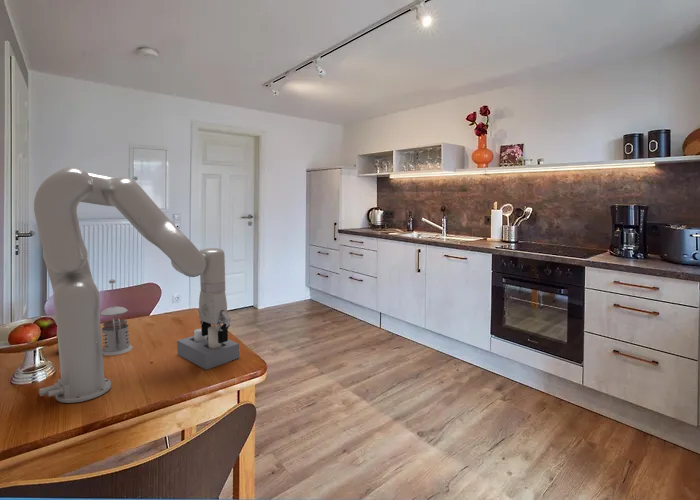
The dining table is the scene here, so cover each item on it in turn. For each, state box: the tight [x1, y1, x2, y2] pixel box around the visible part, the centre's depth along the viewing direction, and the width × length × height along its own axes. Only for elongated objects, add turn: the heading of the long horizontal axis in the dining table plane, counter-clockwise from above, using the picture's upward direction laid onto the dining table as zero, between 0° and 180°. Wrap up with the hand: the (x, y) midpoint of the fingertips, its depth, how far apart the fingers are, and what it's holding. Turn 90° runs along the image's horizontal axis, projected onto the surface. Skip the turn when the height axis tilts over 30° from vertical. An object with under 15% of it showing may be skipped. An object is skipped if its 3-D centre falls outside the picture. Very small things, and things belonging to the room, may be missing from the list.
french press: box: [100, 279, 134, 356], centre depth 134 cm, size 10×12×25 cm
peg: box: [208, 325, 222, 350], centre depth 127 cm, size 4×4×10 cm
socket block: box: [176, 328, 240, 371], centre depth 131 cm, size 12×18×8 cm, turn 50°
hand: (214, 338), depth 127 cm, fingers open, 9 cm apart
